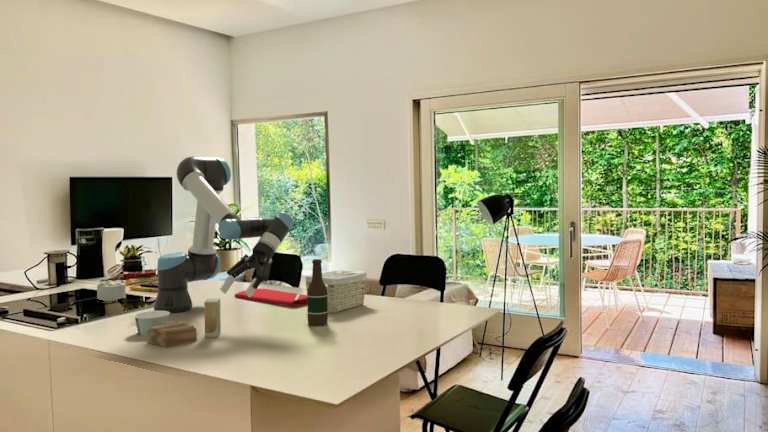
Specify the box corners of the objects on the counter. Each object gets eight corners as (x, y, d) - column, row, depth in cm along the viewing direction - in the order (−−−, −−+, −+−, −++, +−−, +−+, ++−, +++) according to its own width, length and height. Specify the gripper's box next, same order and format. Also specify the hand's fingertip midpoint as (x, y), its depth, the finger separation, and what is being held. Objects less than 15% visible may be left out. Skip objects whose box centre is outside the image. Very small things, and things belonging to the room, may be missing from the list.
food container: (148, 338, 196) (147, 319, 196) (126, 333, 202) (126, 315, 202) (177, 330, 206) (177, 312, 206) (156, 326, 212) (155, 309, 212)
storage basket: (339, 301, 259) (338, 268, 259) (368, 304, 250) (368, 271, 250) (303, 310, 239) (303, 275, 238) (335, 315, 230) (334, 278, 230)
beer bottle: (324, 326, 210) (323, 261, 209) (304, 326, 212) (303, 260, 211) (330, 322, 218) (330, 258, 217) (311, 321, 219) (310, 258, 218)
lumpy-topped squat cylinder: (107, 303, 258) (107, 283, 258) (91, 300, 266) (90, 281, 265) (129, 299, 267) (128, 280, 267) (112, 296, 274) (112, 278, 274)
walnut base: (147, 342, 190) (147, 327, 190) (177, 335, 199) (177, 321, 199) (166, 347, 184) (166, 332, 184) (196, 340, 193) (196, 325, 192)
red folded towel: (261, 293, 282) (261, 286, 282) (319, 303, 256) (319, 295, 255) (234, 298, 270) (234, 290, 270) (291, 309, 244) (291, 300, 243)
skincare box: (208, 333, 202) (207, 298, 202) (221, 332, 203) (220, 298, 202) (204, 337, 196) (203, 301, 195) (217, 337, 196) (216, 301, 196)
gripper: (294, 255, 212) (264, 303, 200) (249, 251, 227) (219, 295, 215) (283, 242, 207) (252, 290, 196) (238, 239, 222) (206, 283, 211)
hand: (234, 293), depth 206 cm, fingers open, 13 cm apart
